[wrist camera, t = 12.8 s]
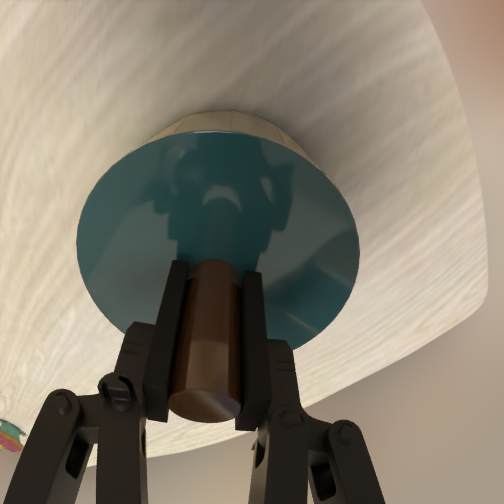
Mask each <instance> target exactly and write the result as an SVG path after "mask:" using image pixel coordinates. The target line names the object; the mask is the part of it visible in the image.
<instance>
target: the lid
mask: <svg viewBox="0 0 504 504" xmlns="http://www.w3.org/2000/svg"><path fill="white" fill-rule="evenodd" d="M76 246H77V259H78V264H79V268H80V273H81V275H82V278H83V281H84V284H85V286H86V288H87V290H88V292H89V294H90V296H91V298H92V299H93V301H94V302H95V304H96V305H97V307H98V308H99V309H100V311H101V312H102V313H103V314H104V315H105V317H106V318H107V319H108V320H109V321H110V322H111V323H112V324H113V325H114V326H115V327H117V328H118V329H119V330H120V331H121V332H122V333H124V334H125V333H126V330H127V329H128V327H129V326H130V325H131V324H132V323H133V322H134V321H137V322H143V323H149V324H156V320H157V316H158V312H159V308H160V305H161V301H162V297H163V293H164V289H165V286H166V282H167V278H168V275H169V271H170V268H171V264H172V260H178V261H185V262H189V268H188V278H187V285H186V290H185V295H184V300H183V306H182V311H181V317H180V322H179V328H178V334H177V340H176V346H175V352H174V358H173V364H172V370H171V377H170V384H169V390H168V397H167V405H168V407H169V409H170V410H171V411H172V412H173V413H175V414H176V415H178V416H180V417H182V418H184V419H187V420H191V421H195V422H202V423H218V422H224V421H228V420H231V419H233V418H235V417H237V416H238V415H239V414H240V413H241V411H242V355H241V286H242V282H243V278H244V274H245V270H247V271H254V272H261V273H262V284H263V295H264V306H265V317H266V328H267V338H268V339H279V340H287V342H288V344H289V345H290V347H291V348H292V350H295V349H297V348H299V347H300V346H302V345H304V344H305V343H307V342H308V341H310V340H312V339H313V338H314V337H316V336H317V335H318V334H319V333H321V332H322V331H323V330H324V329H325V328H326V327H327V326H328V325H329V324H330V323H331V322H332V321H333V320H334V319H335V318H336V316H337V315H338V314H339V312H340V311H341V310H342V308H343V307H344V305H345V303H346V302H347V300H348V298H349V296H350V294H351V292H352V289H353V287H354V284H355V281H356V277H357V273H358V269H359V258H360V247H359V236H358V232H357V228H356V224H355V220H354V218H353V215H352V213H351V211H350V208H349V206H348V204H347V202H346V201H345V199H344V198H343V196H342V195H341V193H340V191H339V190H338V188H337V187H336V185H335V184H334V183H333V182H332V181H331V179H330V178H329V177H328V176H327V175H326V174H325V173H324V172H323V171H322V169H320V168H319V167H318V166H317V165H316V164H314V163H313V162H312V161H311V160H310V159H308V158H307V157H306V156H304V155H303V154H301V153H300V152H298V151H296V150H294V149H293V148H291V147H289V146H288V145H286V144H284V143H281V142H279V141H277V140H274V139H272V138H269V137H267V136H264V135H260V134H256V133H252V132H248V131H244V130H239V129H229V128H218V127H215V128H194V129H188V130H183V131H178V132H173V133H169V134H166V135H164V136H161V137H158V138H155V139H152V140H150V141H148V142H146V143H144V144H142V145H140V146H139V147H137V148H135V149H133V150H131V151H130V152H129V153H127V154H126V155H125V156H123V157H122V158H121V159H120V160H118V161H117V162H116V163H115V164H114V165H112V166H111V168H110V169H109V170H108V171H107V172H106V173H105V174H104V175H103V176H102V177H101V178H100V179H99V181H98V182H97V184H96V185H95V187H94V188H93V190H92V191H91V193H90V194H89V196H88V198H87V200H86V203H85V205H84V207H83V209H82V212H81V216H80V220H79V224H78V230H77V241H76Z"/></svg>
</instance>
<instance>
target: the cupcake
mask: <svg viewBox="0 0 504 504" xmlns="http://www.w3.org/2000/svg"><path fill="white" fill-rule="evenodd" d="M2 447H4V448H5V449H8V450H10V451H12V452H17V451H20V450H21V448H22V444H21V443H20V439H19V429H18V428H17V427H15V426H14V425H12V424H10V423H8V422H4V423H3V424H2V425H1V426H0V450H1V448H2Z"/></svg>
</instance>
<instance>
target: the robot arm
mask: <svg viewBox="0 0 504 504" xmlns="http://www.w3.org/2000/svg"><path fill="white" fill-rule="evenodd" d="M188 268H189V262H185V261H178V260H172V264H171V268H170V271H169V275H168V278H167V282H166V286H165V289H164V293H163V297H162V301H161V305H160V308H159V312H158V316H157V320H156V324H149V323H143V322H137V321H134V322H133V323H132V324H131V325H130V326H129V327H128V329H127V330H126V333H125V336H124V339H123V343H122V346H121V350H120V353H119V356H118V359H117V363H116V366H115V370H114V372H111V373H109V374H107V375H105V376H104V377H103V378H102V379H101V380H100V381H99V384H98V386H97V387H98V390H99V393H98V394H94V395H83V396H76V395H75V393H73V392H72V391H70V390H67V389H57V390H55V391H53V392H51V393H50V394H49V395H48V397H47V398H46V400H45V402H44V404H43V406H42V408H41V410H40V412H39V415H38V417H37V419H36V421H35V423H34V426H33V428H32V430H31V432H30V435H29V437H28V439H27V442H26V444H25V446H24V449H23V452H22V454H21V456H20V459H19V461H18V464H17V466H16V469H15V472H14V474H13V477H12V480H11V483H10V485H9V488H8V491H7V494H6V497H5V500H4V503H3V504H75V500H76V497H77V494H78V491H79V488H80V484H81V481H82V478H83V475H84V472H85V469H86V466H87V463H88V460H89V457H90V454H91V451H92V448H93V445H94V444H98V449H97V470H96V504H148V491H147V465H146V429H145V425H146V419H148V420H153V421H159V422H165V423H167V421H168V413H169V407H168V405H167V397H168V390H169V384H170V377H171V370H172V364H173V358H174V352H175V346H176V340H177V334H178V328H179V322H180V317H181V311H182V306H183V300H184V295H185V290H186V285H187V278H188ZM241 355H242V411H241V413H240V414H239V415H238V416H237V417H235V430H239V431H255V430H256V428H257V427H258V437H257V439H256V441H255V442H254V444H253V446H252V449H251V450H254V449H255V450H254V459H253V469H252V478H251V485H250V494H249V502H248V504H307V493H308V480H309V484H310V488H311V492H312V497H313V501H314V504H385V501H384V498H383V495H382V491H381V488H380V486H379V482H378V479H377V476H376V473H375V470H374V467H373V464H372V461H371V458H370V455H369V452H368V450H367V446H366V444H365V441H364V438H363V435H362V432H361V430H360V429H359V427H358V426H357V425H356V424H355V423H354V422H351V421H349V420H339V421H336V422H334V423H333V424H331V423H328V422H324V421H320V420H317V419H315V418H312V417H311V416H309V415H308V414H307V413H306V412H305V411H304V409H303V408H302V406H301V403H300V397H299V390H298V383H297V376H296V372H295V370H296V369H295V363H294V356H293V350H292V348H291V347H290V345H289V344H288V342H287V340H279V339H268V338H267V328H266V317H265V306H264V295H263V284H262V273H261V272H254V271H247V270H245V274H244V278H243V282H242V286H241Z"/></svg>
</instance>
